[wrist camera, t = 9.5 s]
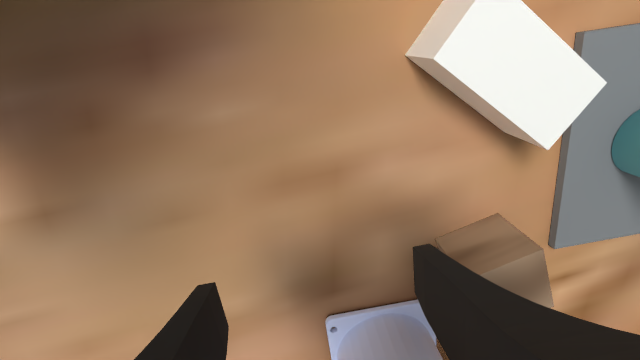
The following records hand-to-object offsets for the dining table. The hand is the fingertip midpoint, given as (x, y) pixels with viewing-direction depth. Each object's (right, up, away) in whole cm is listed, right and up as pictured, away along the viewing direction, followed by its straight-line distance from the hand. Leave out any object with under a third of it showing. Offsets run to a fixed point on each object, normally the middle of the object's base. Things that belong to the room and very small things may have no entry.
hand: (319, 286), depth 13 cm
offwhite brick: (+9, +10, +7) cm, 16 cm away
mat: (+20, +7, +10) cm, 23 cm away
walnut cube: (+11, -1, +12) cm, 16 cm away
